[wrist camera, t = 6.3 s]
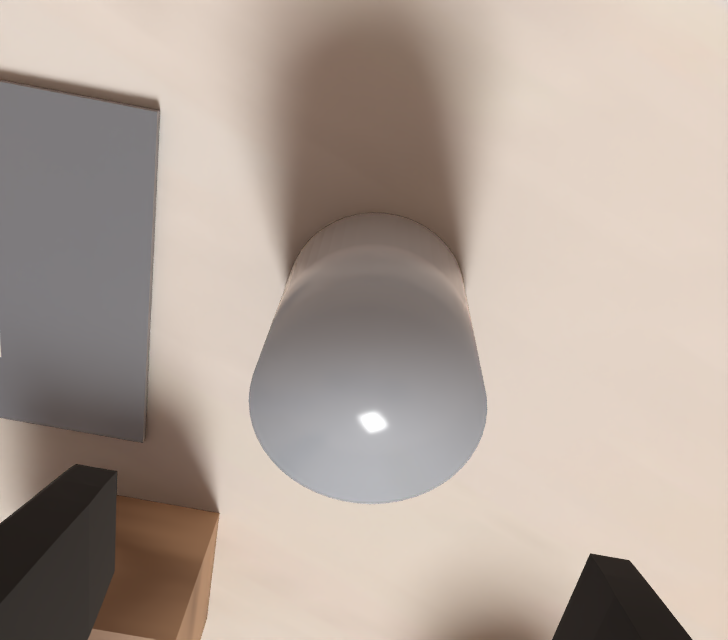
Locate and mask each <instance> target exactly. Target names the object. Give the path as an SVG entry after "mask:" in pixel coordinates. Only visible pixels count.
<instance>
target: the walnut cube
mask: <svg viewBox="0 0 728 640" xmlns="http://www.w3.org/2000/svg"><path fill="white" fill-rule="evenodd" d="M218 521H219V513H215V512H210V511H204V510H198V509H193V508H187V507H181V506H176V505H170V504H164V503H159V502H153V501H148V500H142V499H136V498H131V497H125V496H119V495H117V498H116V540H115V572H114V574H113V577H112V579H111V582H110V585H109V587H108V590H107V593H106V595H105V598H104V600H103V603H102V606H101V608H100V611H99V613H98V616H97V618H96V621H95V623H94V626H93V628H92V631H91V633H90V636H89V638H88V640H200V639H201V636H202V633H203V629H204V626H205V623H206V620H207V613H208V605H209V596H210V588H211V579H212V571H213V563H214V554H215V546H216V537H217V529H218Z"/></svg>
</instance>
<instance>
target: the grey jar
mask: <svg viewBox="0 0 728 640" xmlns="http://www.w3.org/2000/svg"><path fill="white" fill-rule="evenodd" d="M249 410H250V417H251V421H252V426H253V428H254V431H255V434H256V436H257V439H258V440H259V442H260V444H261V446H262V448H263V449H264V451H265V452H266V453H267V455H268V456H269V457H270V459H271V460H272V461H273V462H274V463H275V464H276V465H277V466H278V467H279V468H280V470H282V471H283V472H284V473H285V474H286V475H288V476H289V477H290V478H291V479H293V480H294V481H296V482H297V483H299V484H301V485H302V486H304V487H306V488H308V489H310V490H312V491H314V492H316V493H318V494H321V495H324V496H327V497H329V498H333V499H337V500H341V501H346V502H353V503H363V504H380V503H390V502H397V501H402V500H406V499H409V498H413V497H416V496H419V495H421V494H424V493H426V492H428V491H430V490H432V489H434V488H436V487H438V486H440V485H441V484H443V483H444V482H446V481H447V480H448V479H450V478H451V477H452V476H453V475H455V474H456V473H457V472H458V471H459V470H460V469H461V468H462V467H463V466H464V465H465V463H466V462H467V461H468V460H469V459H470V457H471V456H472V454H473V453H474V451H475V449H476V448H477V446H478V444H479V441H480V439H481V437H482V434H483V431H484V427H485V423H486V415H487V397H486V391H485V386H484V381H483V376H482V371H481V367H480V362H479V357H478V352H477V347H476V342H475V337H474V332H473V327H472V322H471V317H470V312H469V307H468V302H467V297H466V292H465V287H464V282H463V277H462V273H461V270H460V268H459V265H458V263H457V261H456V259H455V257H454V255H453V253H452V252H451V251H450V249H449V248H448V247H447V245H446V244H445V243H444V242H443V241H442V240H441V239H440V238H439V237H438V236H437V235H436V234H434V233H433V232H432V231H431V230H429V229H428V228H426V227H424V226H423V225H421V224H419V223H417V222H415V221H413V220H410V219H408V218H405V217H401V216H398V215H393V214H387V213H364V214H357V215H353V216H349V217H346V218H343V219H340V220H338V221H335V222H334V223H332V224H330V225H328V226H326V227H325V228H323V229H322V230H320V231H319V232H318V233H316V234H315V235H314V236H313V237H312V238H311V239H310V240H309V241H308V242H307V243H306V245H305V246H304V247H303V248H302V250H301V251H300V253H299V255H298V257H297V258H296V260H295V263H294V265H293V268H292V270H291V273H290V276H289V278H288V281H287V284H286V286H285V289H284V292H283V295H282V297H281V300H280V303H279V305H278V308H277V311H276V314H275V316H274V319H273V322H272V325H271V327H270V330H269V333H268V335H267V338H266V341H265V344H264V346H263V349H262V352H261V354H260V357H259V360H258V363H257V365H256V368H255V371H254V373H253V377H252V381H251V385H250V392H249Z"/></svg>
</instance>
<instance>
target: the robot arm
mask: <svg viewBox="0 0 728 640" xmlns="http://www.w3.org/2000/svg"><path fill="white" fill-rule="evenodd" d="M116 498H117V471H113V470H107V469H101V468H95V467H90V466H84V465H78V464H76V465H74V466H73V467H71V468H69V469H68V470H67V471H65V472H64V473H63V474H62V475H60V476H59V477H58V478H57V479H55V480H54V481H53V482H52V483H50V484H49V485H48V486H47V487H45V488H44V489H43V490H42V491H40V492H39V493H38V494H37V495H36V496H34V497H33V498H32V499H31V500H29V501H28V502H27V503H25V504H24V505H23V506H22V507H20V508H19V509H18V510H17V511H15V512H14V513H13V514H12V515H10V516H9V517H8V518H6V519H5V520H4V521H3V522H1V523H0V640H88V638H89V636H90V633H91V631H92V628H93V626H94V623H95V621H96V618H97V616H98V613H99V611H100V608H101V606H102V603H103V600H104V598H105V595H106V593H107V590H108V587H109V585H110V582H111V579H112V577H113V574H114V572H115V540H116ZM552 640H692V639H691V637H690V636H689V635H688V633H687V632H686V631H685V630H684V628H683V627H682V626H681V625H680V623H679V622H678V621H677V619H676V618H675V617H674V616H673V614H672V613H671V612H670V611H669V609H668V608H667V607H666V605H665V604H664V603H663V602H662V600H661V599H660V598H659V596H658V595H657V594H656V593H655V591H654V590H653V589H652V588H651V586H650V585H649V584H648V582H647V581H646V580H645V579H644V577H643V576H642V575H641V574H640V573H639V571H638V570H637V569H636V568H635V566H634V565H633V564H632V563H631V562H630V561H629V560H624V559H619V558H613V557H607V556H601V555H596V554H590V555H589V557H588V560H587V562H586V564H585V567H584V569H583V571H582V573H581V576H580V578H579V580H578V582H577V585H576V587H575V589H574V591H573V594H572V596H571V598H570V600H569V603H568V605H567V607H566V609H565V612H564V614H563V616H562V618H561V621H560V623H559V625H558V628H557V630H556V632H555V634H554V637H553V639H552Z"/></svg>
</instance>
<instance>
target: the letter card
mask: <svg viewBox="0 0 728 640" xmlns="http://www.w3.org/2000/svg"><path fill="white" fill-rule="evenodd" d="M159 122H160V110H155V109H149V108H144V107H139V106H134V105H129V104H123V103H118V102H113V101H108V100H103V99H98V98H92V97H87V96H82V95H77V94H72V93H66V92H61V91H56V90H51V89H46V88H40V87H35V86H30V85H25V84H20V83H14V82H9V81H4V80H0V418H5V419H10V420H16V421H22V422H27V423H33V424H39V425H44V426H50V427H56V428H61V429H67V430H73V431H78V432H84V433H90V434H96V435H101V436H107V437H113V438H118V439H124V440H130V441H135V442H141V443H143V442H144V440H145V430H146V408H147V386H148V364H149V342H150V320H151V298H152V276H153V254H154V232H155V210H156V188H157V166H158V144H159Z"/></svg>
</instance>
